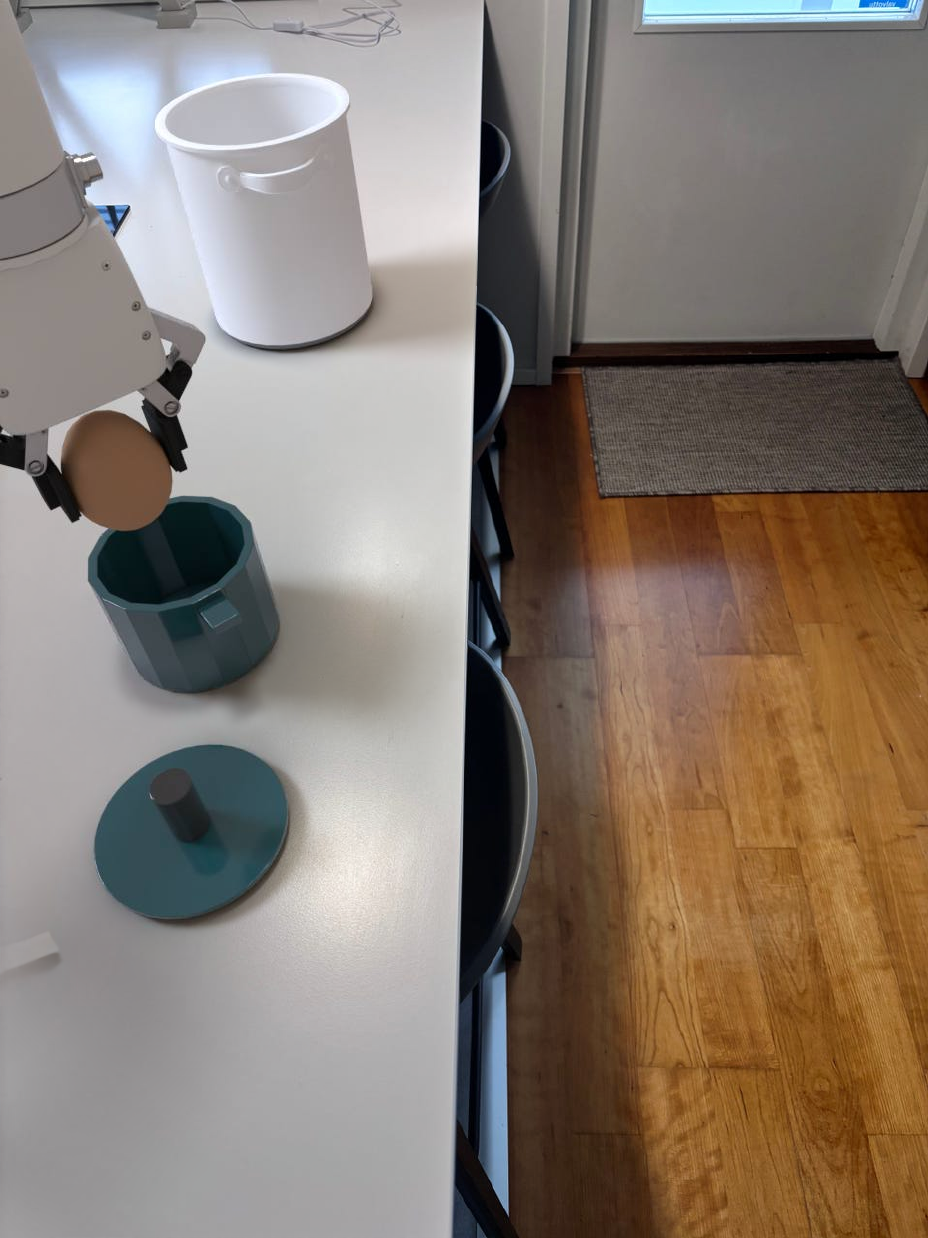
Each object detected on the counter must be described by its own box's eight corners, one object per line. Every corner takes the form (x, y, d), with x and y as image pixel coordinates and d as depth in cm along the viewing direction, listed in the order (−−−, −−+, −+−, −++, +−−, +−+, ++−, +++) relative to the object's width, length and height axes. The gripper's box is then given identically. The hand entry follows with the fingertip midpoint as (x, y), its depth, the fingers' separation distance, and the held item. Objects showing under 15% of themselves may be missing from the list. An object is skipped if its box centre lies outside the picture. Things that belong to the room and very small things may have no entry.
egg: (67, 531, 62) (15, 429, 56) (140, 476, 66) (98, 374, 60) (134, 567, 60) (86, 464, 54) (206, 507, 63) (169, 404, 57)
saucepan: (183, 739, 78) (143, 659, 71) (94, 610, 89) (50, 528, 81) (322, 657, 83) (299, 573, 76) (222, 544, 94) (193, 460, 86)
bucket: (407, 336, 117) (381, 127, 99) (235, 382, 113) (175, 173, 95) (347, 247, 133) (315, 54, 115) (195, 285, 129) (137, 90, 111)
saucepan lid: (147, 964, 66) (115, 924, 61) (69, 820, 74) (35, 774, 69) (325, 844, 71) (309, 797, 66) (234, 721, 79) (214, 672, 74)
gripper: (133, 134, 52) (217, 404, 66) (-196, 240, 46) (-30, 515, 60) (192, 176, 48) (269, 456, 62) (-162, 299, 42) (9, 580, 55)
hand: (121, 483), depth 60 cm, fingers closed on egg, 6 cm apart
